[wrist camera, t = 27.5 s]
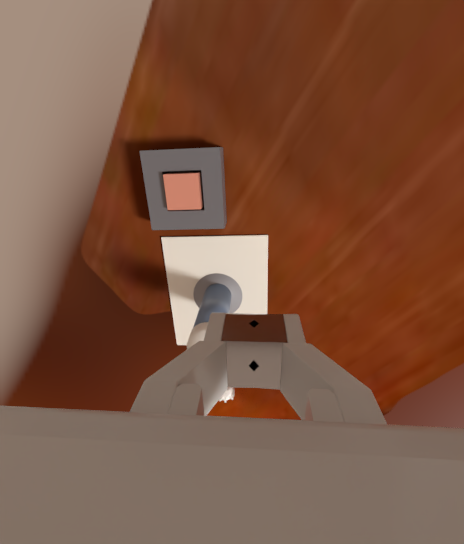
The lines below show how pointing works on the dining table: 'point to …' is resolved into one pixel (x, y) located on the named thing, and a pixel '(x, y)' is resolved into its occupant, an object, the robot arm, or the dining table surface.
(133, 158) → the dining table surface
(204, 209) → the button housing
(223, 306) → the blue and white cylinder
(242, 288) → the paper sheet
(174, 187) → the button
